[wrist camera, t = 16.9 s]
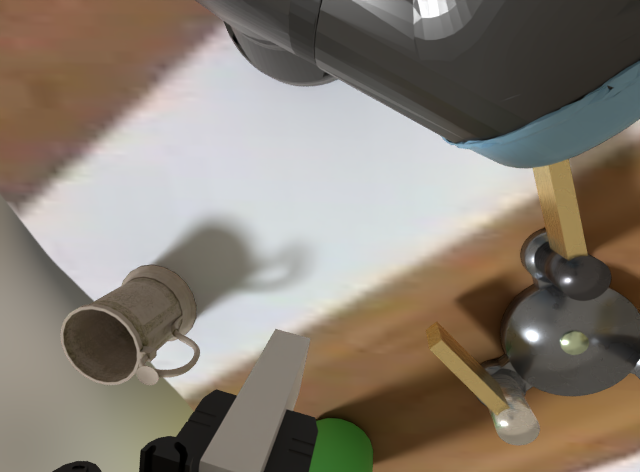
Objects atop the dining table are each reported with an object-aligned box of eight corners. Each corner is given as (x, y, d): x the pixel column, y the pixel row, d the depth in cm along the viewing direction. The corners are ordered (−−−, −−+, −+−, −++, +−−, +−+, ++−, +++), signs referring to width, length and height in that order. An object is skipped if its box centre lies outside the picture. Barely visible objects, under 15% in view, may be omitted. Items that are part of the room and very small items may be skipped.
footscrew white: (526, 391, 38) (548, 431, 33) (497, 409, 39) (514, 451, 34) (443, 308, 38) (452, 335, 32) (416, 329, 39) (420, 359, 33)
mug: (121, 331, 47) (37, 394, 36) (120, 258, 45) (27, 301, 33) (230, 355, 45) (177, 429, 34) (235, 280, 43) (179, 333, 31)
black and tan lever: (580, 270, 35) (614, 295, 29) (538, 280, 35) (564, 305, 30) (553, 139, 32) (585, 140, 27) (509, 153, 33) (532, 156, 28)
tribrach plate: (531, 222, 36) (540, 228, 33) (733, 269, 34) (757, 279, 32) (465, 392, 41) (469, 406, 39) (635, 441, 39) (649, 459, 37)
